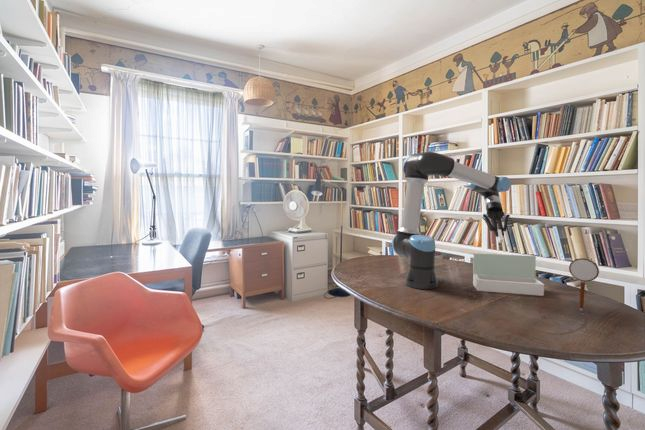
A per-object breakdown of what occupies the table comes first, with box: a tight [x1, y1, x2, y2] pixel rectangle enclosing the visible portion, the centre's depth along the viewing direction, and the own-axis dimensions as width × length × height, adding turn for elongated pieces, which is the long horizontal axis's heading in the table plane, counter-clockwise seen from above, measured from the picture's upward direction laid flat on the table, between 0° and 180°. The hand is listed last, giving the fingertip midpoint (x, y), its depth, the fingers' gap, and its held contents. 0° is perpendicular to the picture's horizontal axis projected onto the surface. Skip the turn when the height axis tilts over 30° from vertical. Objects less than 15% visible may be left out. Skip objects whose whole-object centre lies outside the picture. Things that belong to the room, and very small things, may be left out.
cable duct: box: [472, 273, 545, 297], centre depth 142 cm, size 26×10×5 cm, turn 74°
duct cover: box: [472, 252, 537, 278], centre depth 147 cm, size 26×10×1 cm
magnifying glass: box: [568, 257, 600, 311], centre depth 116 cm, size 9×2×20 cm, turn 39°
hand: (500, 241), depth 154 cm, fingers closed
